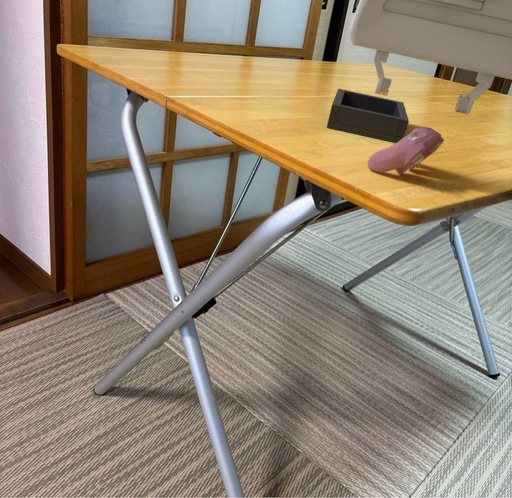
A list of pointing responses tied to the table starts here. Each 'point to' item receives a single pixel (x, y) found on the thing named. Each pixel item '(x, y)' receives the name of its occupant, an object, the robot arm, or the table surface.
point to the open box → (368, 116)
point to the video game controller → (407, 151)
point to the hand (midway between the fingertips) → (420, 103)
